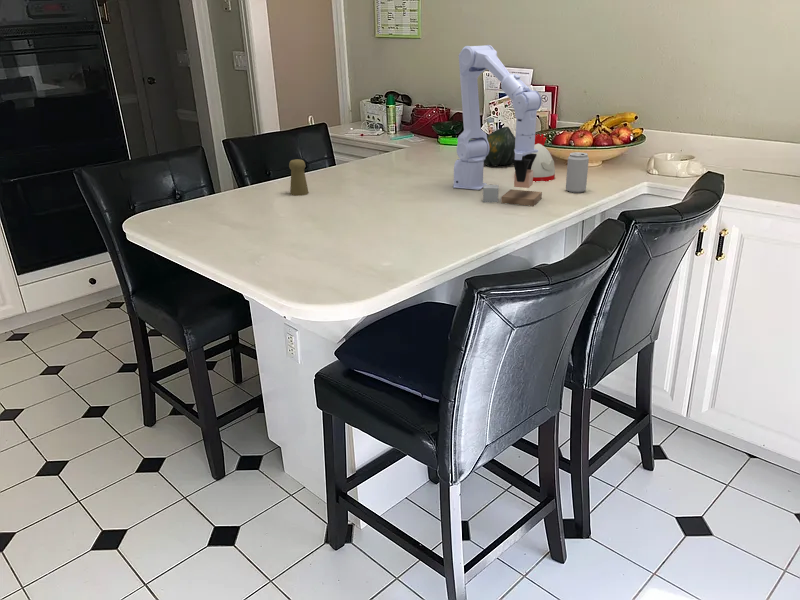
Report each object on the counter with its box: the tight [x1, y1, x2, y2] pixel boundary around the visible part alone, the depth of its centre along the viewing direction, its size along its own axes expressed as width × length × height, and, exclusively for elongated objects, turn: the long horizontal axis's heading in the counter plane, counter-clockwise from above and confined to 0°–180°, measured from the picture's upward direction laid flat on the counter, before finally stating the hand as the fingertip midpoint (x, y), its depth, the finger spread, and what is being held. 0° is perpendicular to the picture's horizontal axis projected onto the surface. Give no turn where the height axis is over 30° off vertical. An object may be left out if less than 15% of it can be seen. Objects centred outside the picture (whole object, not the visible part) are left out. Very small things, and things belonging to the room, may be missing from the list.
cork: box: [288, 158, 310, 197], centre depth 212 cm, size 6×6×11 cm
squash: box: [484, 126, 516, 167], centre depth 248 cm, size 14×15×15 cm
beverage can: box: [565, 151, 590, 194], centre depth 208 cm, size 6×6×12 cm
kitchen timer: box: [531, 133, 556, 183], centre depth 227 cm, size 14×14×15 cm
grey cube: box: [482, 184, 499, 203], centre depth 201 cm, size 4×4×4 cm
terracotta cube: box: [513, 169, 534, 189], centre depth 198 cm, size 4×4×4 cm
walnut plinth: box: [500, 188, 543, 207], centre depth 200 cm, size 10×10×2 cm
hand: (522, 179), depth 198 cm, fingers closed on terracotta cube, 4 cm apart
